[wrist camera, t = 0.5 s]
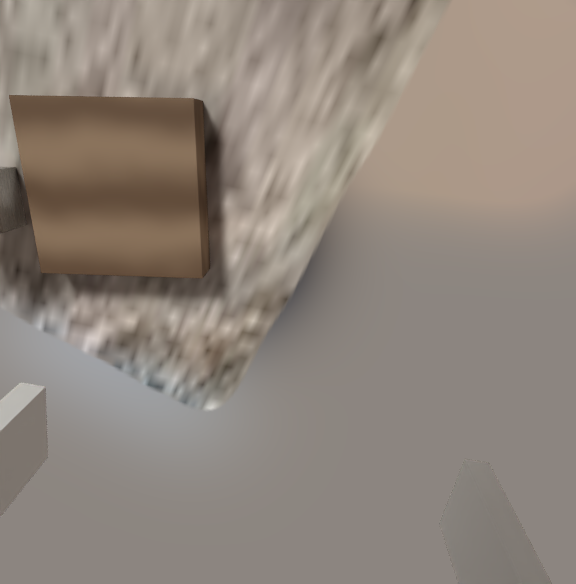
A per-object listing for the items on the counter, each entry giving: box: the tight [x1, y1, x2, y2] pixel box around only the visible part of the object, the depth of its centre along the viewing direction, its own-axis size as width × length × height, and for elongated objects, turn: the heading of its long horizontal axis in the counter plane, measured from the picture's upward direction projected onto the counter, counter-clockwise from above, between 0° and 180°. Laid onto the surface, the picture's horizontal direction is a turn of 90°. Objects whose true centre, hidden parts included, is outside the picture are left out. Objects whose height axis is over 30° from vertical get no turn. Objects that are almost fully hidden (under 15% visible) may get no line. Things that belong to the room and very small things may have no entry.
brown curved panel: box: [9, 95, 210, 278], centre depth 37 cm, size 14×14×3 cm
